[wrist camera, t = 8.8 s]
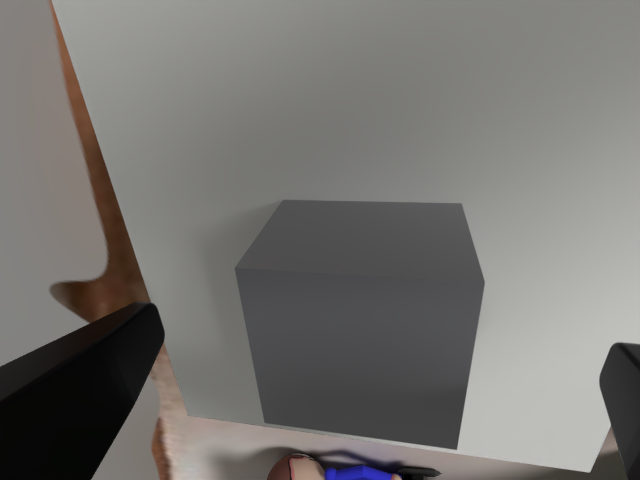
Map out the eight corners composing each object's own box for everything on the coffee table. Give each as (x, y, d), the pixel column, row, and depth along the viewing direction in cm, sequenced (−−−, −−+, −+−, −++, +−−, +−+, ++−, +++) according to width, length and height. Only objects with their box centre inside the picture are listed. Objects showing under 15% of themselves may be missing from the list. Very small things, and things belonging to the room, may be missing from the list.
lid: (791, -79, 6) (1235, -197, 3) (580, 447, 12) (642, 601, 9) (76, -7, 9) (-123, -25, 5) (198, 397, 15) (138, 503, 12)
